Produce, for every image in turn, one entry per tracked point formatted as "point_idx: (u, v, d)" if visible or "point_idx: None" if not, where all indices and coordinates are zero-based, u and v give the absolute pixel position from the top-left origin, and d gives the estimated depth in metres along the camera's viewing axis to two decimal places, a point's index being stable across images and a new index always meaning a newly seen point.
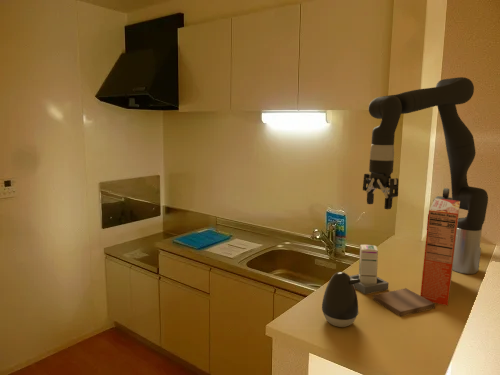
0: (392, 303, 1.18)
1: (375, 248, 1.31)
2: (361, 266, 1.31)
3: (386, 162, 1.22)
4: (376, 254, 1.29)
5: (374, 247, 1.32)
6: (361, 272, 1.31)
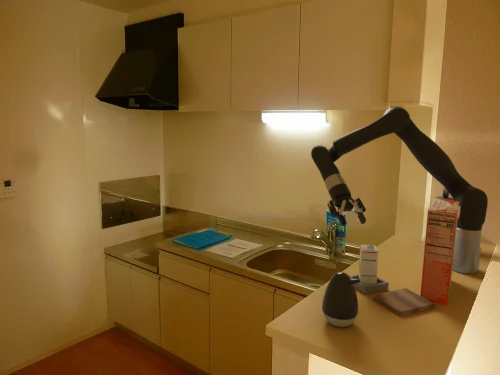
0: (392, 303, 1.18)
1: (375, 248, 1.31)
2: (361, 266, 1.31)
3: (329, 192, 1.46)
4: (376, 254, 1.29)
5: (374, 247, 1.32)
6: (361, 272, 1.31)
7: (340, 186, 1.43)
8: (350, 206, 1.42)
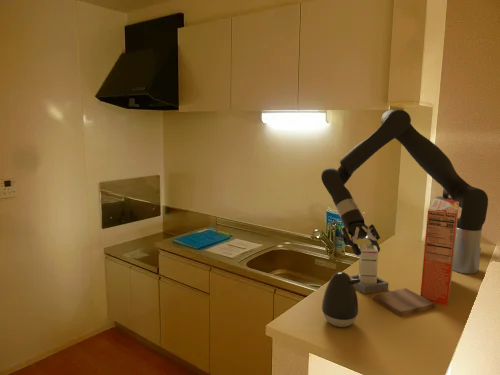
0: (392, 303, 1.18)
1: (375, 248, 1.31)
2: (361, 266, 1.31)
3: (341, 218, 1.40)
4: (376, 254, 1.29)
5: (374, 247, 1.32)
6: (361, 272, 1.31)
7: (353, 212, 1.37)
8: (363, 233, 1.36)
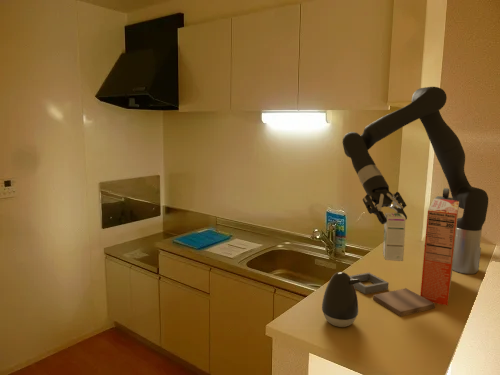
0: (392, 303, 1.18)
1: (402, 215, 1.20)
2: (387, 235, 1.20)
3: (363, 185, 1.30)
4: (403, 221, 1.19)
5: (401, 215, 1.21)
6: (387, 242, 1.21)
7: (377, 178, 1.27)
8: (388, 201, 1.25)
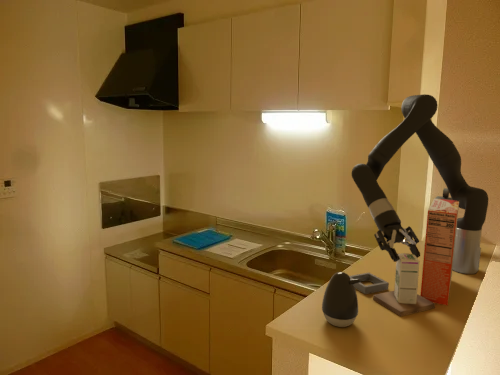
0: (392, 303, 1.18)
1: (415, 258, 1.17)
2: (400, 278, 1.17)
3: (375, 220, 1.26)
4: (417, 265, 1.16)
5: (414, 256, 1.18)
6: (400, 285, 1.18)
7: (389, 213, 1.23)
8: (401, 237, 1.22)
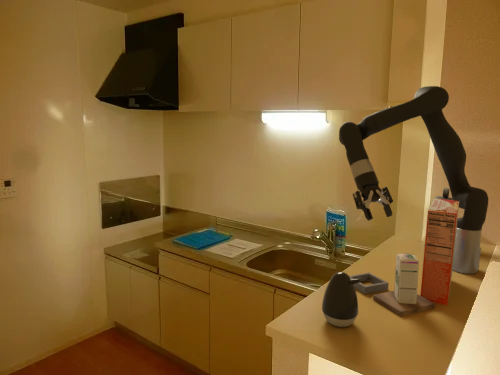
0: (392, 303, 1.18)
1: (415, 257, 1.18)
2: (400, 278, 1.17)
3: (355, 179, 1.33)
4: (417, 264, 1.16)
5: (413, 256, 1.19)
6: (400, 285, 1.18)
7: (368, 175, 1.30)
8: (377, 197, 1.31)
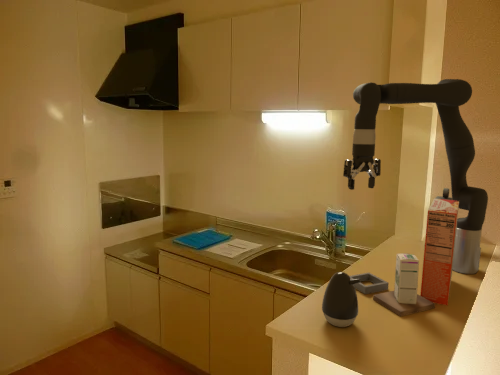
0: (392, 303, 1.18)
1: (415, 257, 1.18)
2: (400, 278, 1.17)
3: (353, 145, 1.31)
4: (417, 264, 1.16)
5: (413, 256, 1.19)
6: (400, 285, 1.18)
7: (367, 147, 1.28)
8: (366, 169, 1.33)
